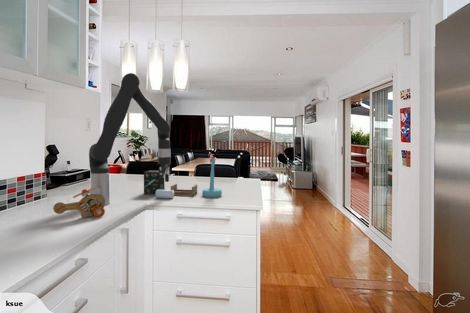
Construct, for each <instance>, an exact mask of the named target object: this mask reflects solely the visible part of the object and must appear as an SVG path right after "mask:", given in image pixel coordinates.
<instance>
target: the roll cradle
mask: <svg viewBox="0 0 470 313" xmlns="http://www.w3.org/2000/svg"><path fill="white" fill-rule="evenodd" d="M170 190H174V195H178V197H194V196H196V195H197V194H198V184H197V183H196V184H194V185H192V187H191V189H184V188H183V189H182V188H180V189H179V188H178V184H177V183H174V184H172V185H170Z"/></svg>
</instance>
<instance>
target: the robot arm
mask: <svg viewBox="0 0 470 313" xmlns="http://www.w3.org/2000/svg"><path fill="white" fill-rule="evenodd" d="M140 82H141V81H140V78H139V76H138V75H137V74H136V73H133V72H130V73H126V74H125V75H123V77H122V79H121V81H120V88H119V90H118V93H117V95H116V96H115V98H114V99H113V101H112V102H111V105H110V107H109V108H108V110H107V113H106V115H105V118H104V121H103V126H102V130H101V134H100V136H99V138H98V140H97V142H96V143H94V144H92V145H91V146H90V147H89V151H88V156H89V159H88V160H89V164H88V165H89V170H90V171H89V172H90V188H89V189H91V188H94V187H97V188H96V189H94V190H91V191H90V193H89V194H100V195H102V196H103V197H104V198H105V206H107V205H109V204H110V203H111V202H110V201H111V200H110V197H111V196H110V167H109V163H108V158H109V157H110V156H111V152H112V149H113V147H114V143H115V141H116V138H117V136H118V134H119V131H120V130H121V127H122V125H123V123H124V121H125V118H127V117H126V116H127V113H128V111H129V108H130V104H131V101H132V99H133V100H134V101H135V103H137V105H138V106H139V107H140V109H141V110H142V111H143V113H144V114H145V115H146V116H147V118H148V119H149V121H150V122H151V123H152V124H153V125H154V126H155V127H156V128H157V140H158V142H157V145H158V148H157V164H158V165H160V166H159V167H158V171H159V177H160V184H164V183H168V182H170V175H171V164H172V163H171V162H172V160H171V158H172V156H171V155H172V154H171V153H172V152H171V141H170V133H171V125H170V124H169V123H168V121H167V120H166V119H165V118H164V117H163V115H162V114H161V113H160V111H159V110H158V109H157V107H156V106H155V105H154V104H153V102H152V101H150V99H148V97H146V96H145V94H144V93H143V92H142V90H141V88H140ZM91 199H95V198H91ZM95 200H96V199H95ZM96 203H98V202H97V200H96ZM98 204H99V205H100V203H98Z"/></svg>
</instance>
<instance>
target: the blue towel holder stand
mask: <svg viewBox="0 0 470 313" xmlns="http://www.w3.org/2000/svg"><path fill="white" fill-rule="evenodd" d="M215 165H216V160H215V157H214V156H213V157H212V158H211V162H210V166H211V167H210V168H211V169H210V175H209V178H210V180H209V187H208V188H203V189H202V192H201V194H202V197H204V198H219V197H221V196H222V194H223V193H222V189H220V188H216V187H215Z"/></svg>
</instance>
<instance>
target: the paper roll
mask: <svg viewBox="0 0 470 313" xmlns="http://www.w3.org/2000/svg"><path fill="white" fill-rule="evenodd" d="M154 195H155V198H156V199H169V198H173V199H174V198H175V196H174V190H171V189H165V190H156V194H154Z"/></svg>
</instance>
